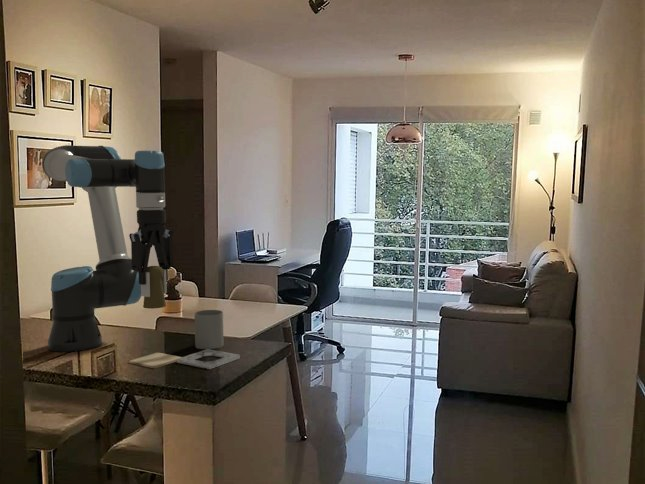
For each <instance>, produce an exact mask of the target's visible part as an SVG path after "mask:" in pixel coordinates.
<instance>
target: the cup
mask: <svg viewBox="0 0 645 484" xmlns="http://www.w3.org/2000/svg"><path fill="white" fill-rule="evenodd" d="M193 314H194V340H195V341H194V343H195V345H194V347H195V348H196V349H199V350H206V349H211V350H215V349H219V348H222V347H224V342H225V341H224V338H225V337H224V312H223V310H218V309H202V310H199V311H195V312H194V313H193Z"/></svg>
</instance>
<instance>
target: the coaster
mask: <svg viewBox="0 0 645 484" xmlns="http://www.w3.org/2000/svg"><path fill="white" fill-rule="evenodd" d="M182 357H183V356H178V355H173V354H166V353H162V352H154V353H150V354H147V355H144V356H140V357H138V358H137V357H136V358H134V359H131V360H129V361H128V363H129V364H133V365H136V366H141V367H145V368H151V369H154V370H155V369H157V368H161V367H164V366H167V365H170V364H173V363H177V359H178V358H182Z"/></svg>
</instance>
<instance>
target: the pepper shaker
mask: <svg viewBox="0 0 645 484" xmlns="http://www.w3.org/2000/svg"><path fill="white" fill-rule="evenodd" d="M147 272H149V275H150V297H144V296H143V305H142V306H143V308H144V309H152V310H153V309H162V308H166V307H167V304H166V299H165V298H166V297H165V293H164V291H163V285H162V279H161V278H162V276H163V269H162V267H160V266H159V265H150V266H149V265H148V267H147Z"/></svg>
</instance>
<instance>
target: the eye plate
mask: <svg viewBox="0 0 645 484" xmlns="http://www.w3.org/2000/svg"><path fill="white" fill-rule="evenodd" d="M181 357H182V358H178V359H177V361H176V363H177V364H182V365H187V366H192V367H196V368H201V369H205V368H206V370H211V369H215V368H217V367H220V366H223V365H226V364H228V363H231V362H233V361H236V360H239V359H241V355H240V354H238V353H237V354H236V353H232V352H227V351H221V350H215V349H202V350H201V351H198V352H194V353H191V354H188V355H185V356H181ZM203 357H215V358H216V357H218V358H219V359H218V358H217V360H211V361H201V360H199V359H200V358H201V359H202V358H203Z"/></svg>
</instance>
